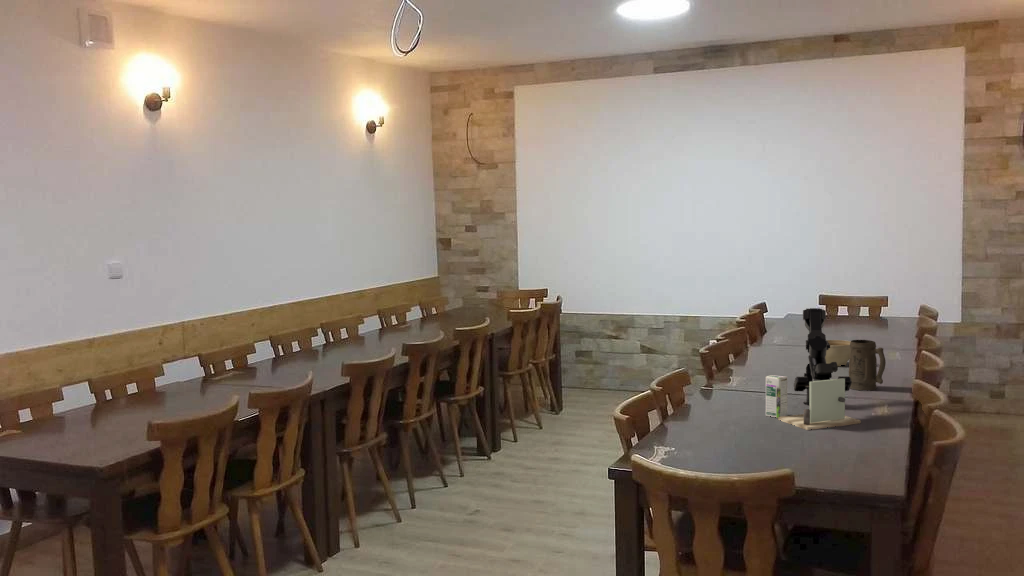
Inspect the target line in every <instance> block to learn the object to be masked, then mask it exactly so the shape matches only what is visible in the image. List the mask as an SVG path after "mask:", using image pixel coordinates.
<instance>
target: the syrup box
mask: <svg viewBox="0 0 1024 576" xmlns="http://www.w3.org/2000/svg"><path fill="white" fill-rule="evenodd" d="M770 416H771V417H772V418H775V417H776V418H777V419H778V417H782V416H788V376H782V375H775V374H773V375H772V374H771V375H766V376H765V417H770ZM771 417H770V418H771Z"/></svg>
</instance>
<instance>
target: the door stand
mask: <svg viewBox="0 0 1024 576" xmlns="http://www.w3.org/2000/svg"><path fill="white" fill-rule="evenodd" d="M777 420H778V421H780V420H781V422H783V423H786V424H789V425H791V424H792V426H794V425H795V426H794V427H797V428H800V429H803V430H806V431H809V430H810V431H811V429H812V430H818V429H828V428H834V427H835V426H836V427H843V426H850V425H858V424H861V423H862V421H861V420H860V419H858V418H854V417H850V416H848V415H845V419H837V420H829V421H822V422H814V423H810V410H809V408H804V409H803V413H802V414H801V413H798V414H791V415H787V416H782V417H778V418H777ZM827 427H828V428H827Z"/></svg>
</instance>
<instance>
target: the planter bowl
mask: <svg viewBox="0 0 1024 576" xmlns="http://www.w3.org/2000/svg"><path fill="white" fill-rule="evenodd" d="M826 341H828V343H829V344H830V348H829V349H828V350H826V357H825V359H826V363H831V362H837V366H838V367H842V366H841V365H845V366H847V363H848V362H849V357H850V342H851V341H852V340H845V339H844V340H842V339H826Z"/></svg>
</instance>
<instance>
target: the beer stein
mask: <svg viewBox="0 0 1024 576" xmlns="http://www.w3.org/2000/svg"><path fill="white" fill-rule="evenodd" d="M850 341H851V342H850V357H849V360H848V366H849V367H848V376H849V377H850V378H851V381H852V383H851V386H850V389H851V390H854V389H855V390H854V391H861V390H867V391H866V392H868V390H870V391H875V390H877V388H878V387H877V383H878V384H880V385H882V384H883V383H884V380H883V374H884V372H885V369H886V357H885V354H884V347H878V348H877V344H876V341H874V340H870V339H869V340H868V339H852V340H850ZM876 355H878V356H879V366H878V371H877V364H878V362H877V356H876Z"/></svg>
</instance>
